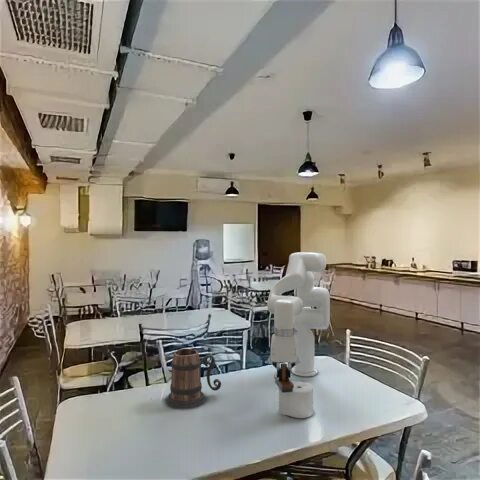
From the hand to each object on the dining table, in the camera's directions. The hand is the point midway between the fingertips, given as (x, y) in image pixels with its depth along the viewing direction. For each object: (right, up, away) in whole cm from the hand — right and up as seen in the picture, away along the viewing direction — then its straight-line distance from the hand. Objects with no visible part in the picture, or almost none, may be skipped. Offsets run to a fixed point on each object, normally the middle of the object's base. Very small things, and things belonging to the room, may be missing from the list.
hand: (283, 378), depth 158 cm
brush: (0, -3, 0) cm, 3 cm away
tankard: (-36, -13, +13) cm, 40 cm away
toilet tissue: (+6, -13, 0) cm, 14 cm away
